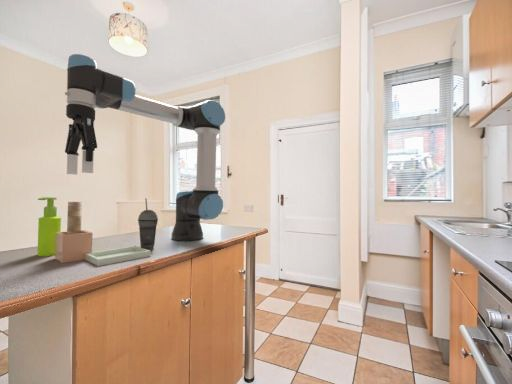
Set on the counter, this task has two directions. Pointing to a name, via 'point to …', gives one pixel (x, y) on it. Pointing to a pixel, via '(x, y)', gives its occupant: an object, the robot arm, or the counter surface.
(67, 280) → the counter surface
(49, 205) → the soap dispenser
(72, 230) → the dowel
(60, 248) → the pot
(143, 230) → the beverage cup
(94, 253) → the tray
